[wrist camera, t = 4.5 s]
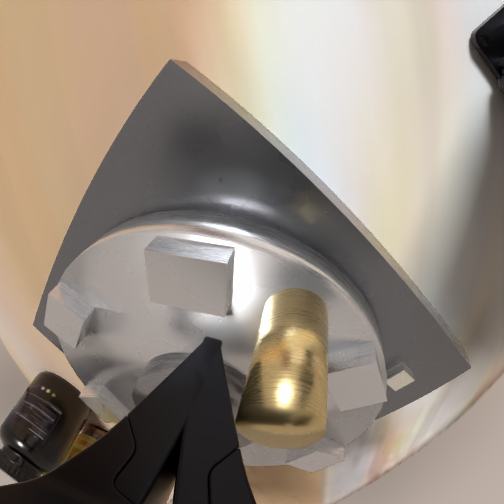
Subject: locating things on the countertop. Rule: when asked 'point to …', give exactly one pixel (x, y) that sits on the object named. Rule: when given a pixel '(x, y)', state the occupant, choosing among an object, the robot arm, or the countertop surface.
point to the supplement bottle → (41, 428)
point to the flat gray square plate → (254, 214)
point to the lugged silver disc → (225, 330)
